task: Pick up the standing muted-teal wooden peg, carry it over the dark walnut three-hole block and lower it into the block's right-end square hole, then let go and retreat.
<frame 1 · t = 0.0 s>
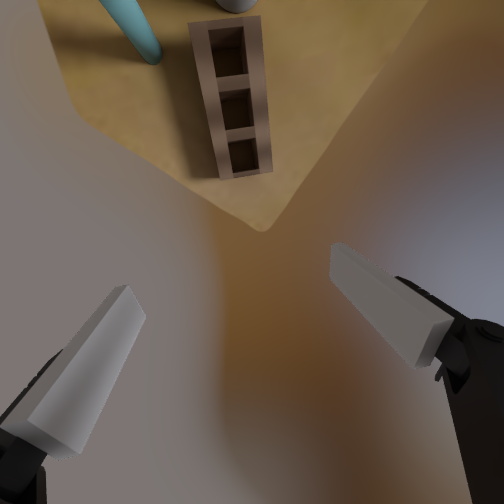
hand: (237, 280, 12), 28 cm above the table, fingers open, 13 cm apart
hole block: (235, 116, 31), on the table
peg: (151, 50, 26), on the table
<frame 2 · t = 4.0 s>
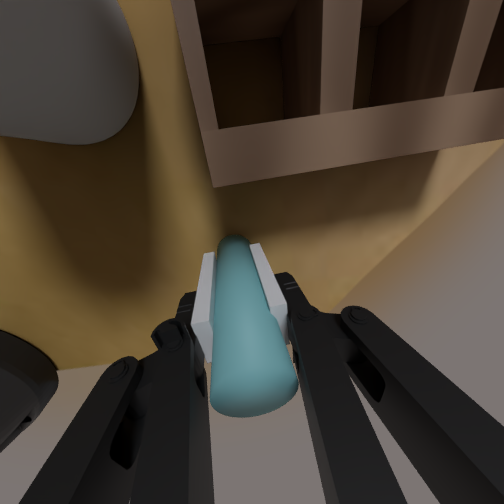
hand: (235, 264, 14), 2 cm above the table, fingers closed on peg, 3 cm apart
hole block: (339, 80, 12), on the table
peg: (234, 250, 16), on the table, touching gripper
mug: (25, 0, 9), on the table
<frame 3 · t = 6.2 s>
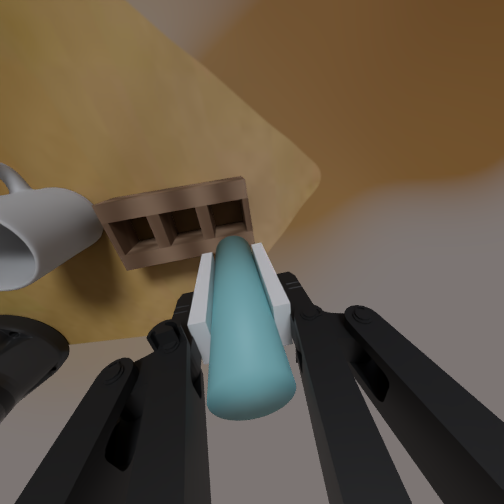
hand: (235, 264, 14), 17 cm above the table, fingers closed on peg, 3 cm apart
hole block: (188, 217, 28), on the table
peg: (233, 251, 16), point 15 cm above the table, touching gripper
mug: (61, 206, 25), on the table
when the fingers open (6 cm above the table, at t = 8.4 s): peg drops 4 cm, resting in hole block.
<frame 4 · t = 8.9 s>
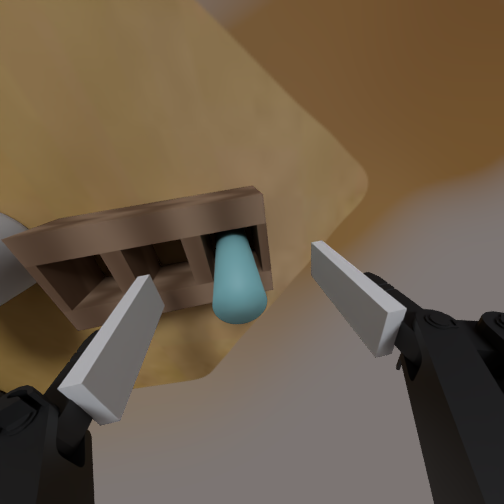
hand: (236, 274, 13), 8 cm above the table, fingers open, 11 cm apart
hole block: (175, 244, 19), on the table
peg: (231, 233, 20), resting in hole block
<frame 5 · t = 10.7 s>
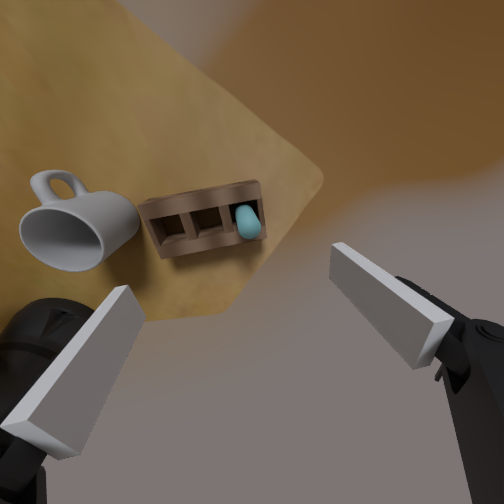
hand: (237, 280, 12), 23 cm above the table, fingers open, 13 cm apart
hole block: (209, 214, 33), on the table
peg: (242, 208, 34), resting in hole block
mug: (107, 206, 31), on the table
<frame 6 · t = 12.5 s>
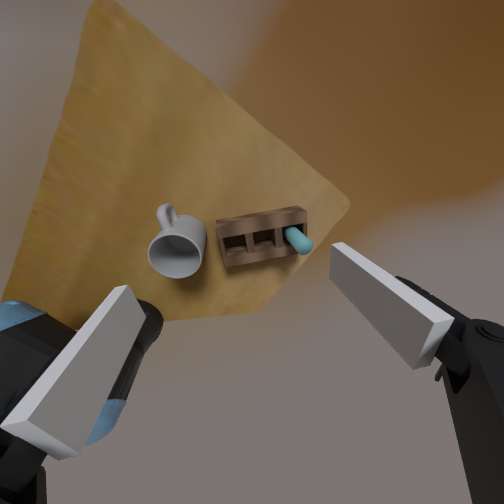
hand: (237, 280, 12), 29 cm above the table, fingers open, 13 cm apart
hole block: (260, 232, 42), on the table
peg: (285, 227, 42), resting in hole block
mug: (183, 225, 39), on the table
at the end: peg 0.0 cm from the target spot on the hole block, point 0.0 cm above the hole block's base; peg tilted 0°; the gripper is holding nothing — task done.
